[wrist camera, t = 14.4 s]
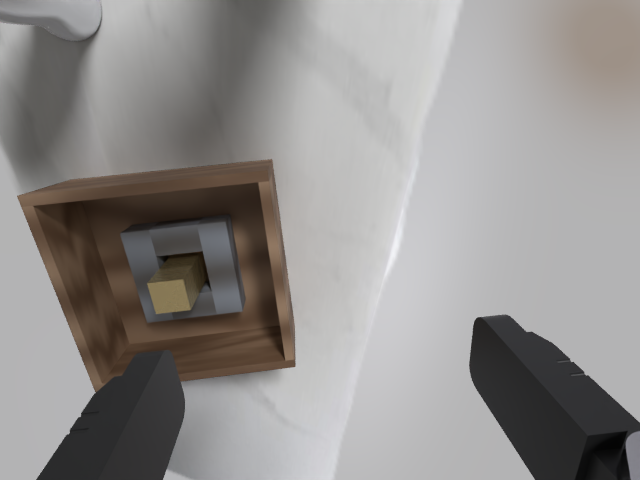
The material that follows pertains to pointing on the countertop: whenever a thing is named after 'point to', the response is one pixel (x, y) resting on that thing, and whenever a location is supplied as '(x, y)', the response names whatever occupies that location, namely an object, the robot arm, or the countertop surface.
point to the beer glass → (55, 16)
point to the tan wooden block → (178, 282)
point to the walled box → (152, 252)
